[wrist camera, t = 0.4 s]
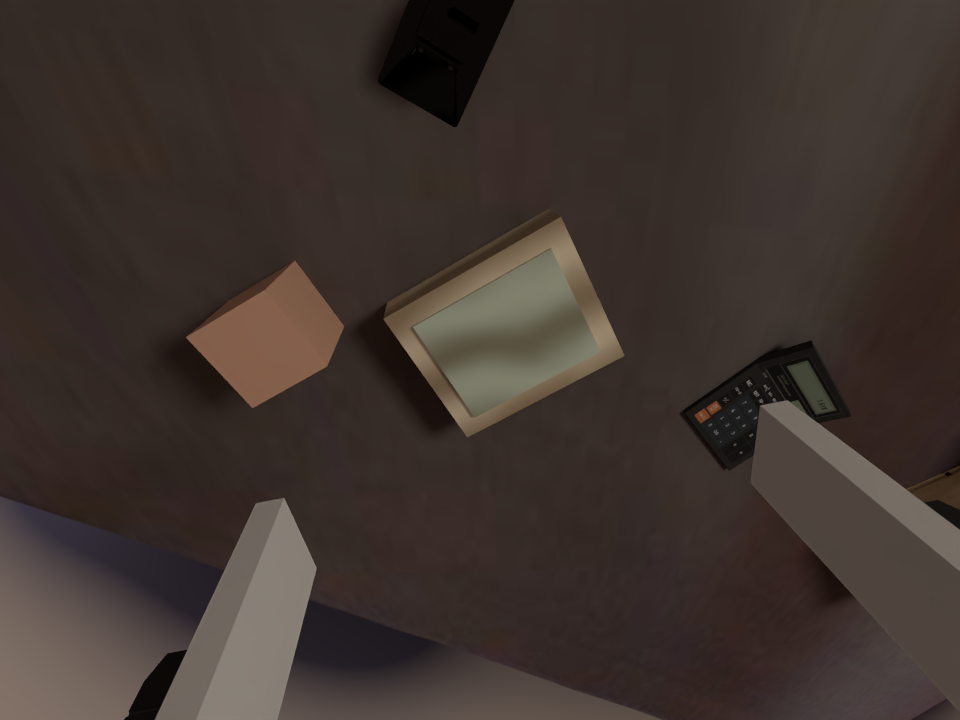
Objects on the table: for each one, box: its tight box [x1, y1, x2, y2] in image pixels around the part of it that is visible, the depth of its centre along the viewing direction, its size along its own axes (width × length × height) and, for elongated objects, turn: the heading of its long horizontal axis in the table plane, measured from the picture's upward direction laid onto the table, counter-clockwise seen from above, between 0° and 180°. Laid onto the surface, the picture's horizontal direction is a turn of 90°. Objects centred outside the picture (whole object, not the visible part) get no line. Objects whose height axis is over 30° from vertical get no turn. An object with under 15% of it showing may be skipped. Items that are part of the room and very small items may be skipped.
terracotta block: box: [186, 261, 344, 408], centre depth 33 cm, size 6×6×7 cm
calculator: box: [683, 341, 851, 471], centre depth 43 cm, size 9×12×3 cm
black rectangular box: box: [378, 0, 514, 127], centre depth 27 cm, size 12×7×5 cm, turn 152°
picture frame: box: [383, 209, 624, 437], centre depth 36 cm, size 12×14×4 cm
